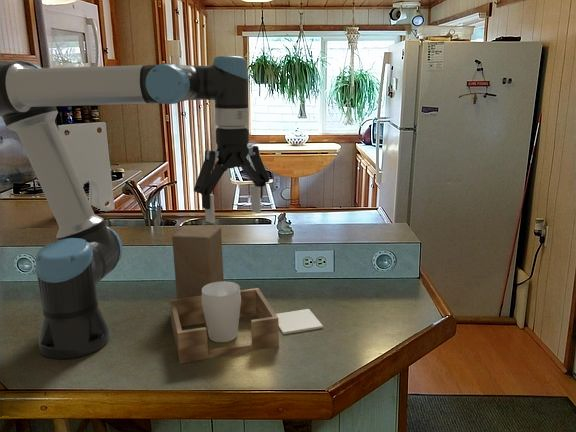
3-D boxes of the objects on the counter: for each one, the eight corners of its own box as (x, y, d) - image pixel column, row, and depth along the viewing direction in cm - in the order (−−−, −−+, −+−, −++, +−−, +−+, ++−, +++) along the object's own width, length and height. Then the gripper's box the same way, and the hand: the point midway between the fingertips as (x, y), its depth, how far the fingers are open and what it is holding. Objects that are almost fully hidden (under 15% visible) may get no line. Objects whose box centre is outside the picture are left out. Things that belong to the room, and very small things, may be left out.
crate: (180, 363, 112) (177, 333, 110) (172, 326, 128) (169, 299, 126) (279, 346, 118) (278, 317, 116) (259, 313, 134) (258, 287, 133)
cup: (220, 323, 129) (217, 278, 126) (250, 332, 124) (248, 285, 121) (195, 339, 121) (192, 291, 118) (226, 349, 117) (224, 299, 114)
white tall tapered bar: (102, 204, 252) (93, 120, 242) (114, 209, 242) (105, 122, 231) (59, 211, 239) (48, 123, 229) (70, 217, 229) (59, 125, 219)
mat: (283, 334, 123) (283, 332, 123) (271, 316, 132) (271, 314, 132) (322, 328, 126) (322, 325, 126) (308, 310, 135) (308, 308, 135)
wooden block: (212, 311, 136) (208, 237, 131) (176, 308, 138) (171, 235, 133) (225, 295, 146) (221, 226, 140) (191, 293, 147) (186, 225, 142)
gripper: (194, 131, 108) (198, 230, 114) (283, 124, 125) (283, 211, 130) (175, 129, 114) (180, 223, 119) (263, 122, 130) (263, 205, 136)
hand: (234, 216), depth 125 cm, fingers open, 13 cm apart
